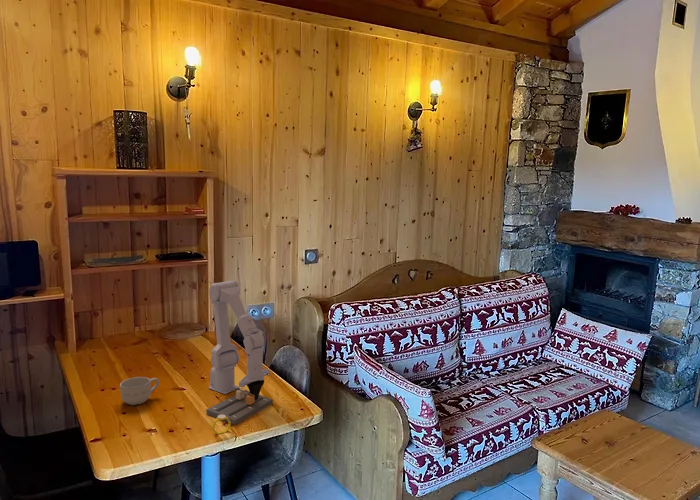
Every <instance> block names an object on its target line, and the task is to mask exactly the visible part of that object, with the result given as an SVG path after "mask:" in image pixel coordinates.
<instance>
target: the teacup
mask: <svg viewBox="0 0 700 500" xmlns="http://www.w3.org/2000/svg"><path fill="white" fill-rule="evenodd" d="M154 381H155V382H156V383H155V385H154V386H152V383H153V382H154ZM159 385H160V381H159V379H158V378H157V377H152V378H149V377H146V376H135V377H130V378H126V379H124V380H122V381H121V382H120V384H119V388H120V390H119V391H120V398H121V400H122V402H123V403H125V404H127V405H129V404H130V406H135V405H136V406H138V405H141V404H144V403H145V402H147V400H148V399H149V398H150V397H151V394H152V393H153V392H154V391H155V390H156V389H157V387H159ZM151 387H152V388H151ZM137 404H138V405H137Z"/></svg>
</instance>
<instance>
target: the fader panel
mask: <svg viewBox="0 0 700 500" xmlns="http://www.w3.org/2000/svg"><path fill="white" fill-rule="evenodd" d="M248 394H250V391H249V390H246V389H244V398H242V399H240V400H239V399H236V394H235V395H233V396H231V397H229V398H226V399H224V400H222V401H221V402H219V403H216V404H214V405H212V406H210V407H209V408H206V410H205V411H206V415H208V416H210V417H212V418H215V419H216V418H217V416H218V415H225V416H226V417H227V418H228V419H229V420H230V422H231V425H233V426H235V425H238V424H239V423H241V422H243V421H245V420H246V419H248V418H250V417H252V416H254V415H256V414H257V413H259V412H261V411H262V410H264V409H266V408H267V407H270V406H271V405H273V404H274V403H273V402H274V400H273V399H272V398H269V397H267V396H264V395H261V394H259V397H258V399H257V400H254V403H253V404H251V405H248V404H246V396H247V395H248ZM228 419H224V420H222V421H223V422H225V423H228Z"/></svg>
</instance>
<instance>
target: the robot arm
mask: <svg viewBox="0 0 700 500" xmlns="http://www.w3.org/2000/svg"><path fill="white" fill-rule="evenodd" d="M240 294H241V288H240V285H239V283H238V282H237V281H236V280H234V279H232V280H227V281H222V282H213V283H212V284H211V285H210V287H209V298H210V303H211V304H212V307H213V317H214V324H215V333H216V345H215V346H214V347H213V349H211V352H210V353H211V357H210V363H211V364H210V365H211V366H212V367H211V369H210V373H209V376H210V378H209V380H210V382H209V383H210V385H209V387H208V389H209V390H213V391H215V392H218V393H220V394H224V395H226V394H227V395H228V393H231V392H234V391H236V390H238V389H240V388H241V389H242V388H245V387H247V388H248V391H250V394H253V395H254V400H257V399H258V397H259V395H260V392H261V389H262V388H263V386H264V383H265V377H266V376H270V375H271V370H270V369H269V368H265V369H263V367H264V366H263V365H264V364H263V362H264V361H263V359H264V357H263V355H264V353H263V351H264V347H265V345H266V344H267V338H266V335H265V333H264V332H263V331H262V330H261V329H260V328H258V327H257V325H256V323H255V321H254V319H253V317H252V316H251V315H249V314H247V311H246V309H245V307H244V304H243V302H242V300H241V297H240ZM228 305H229V306H230V309H232V311H233V313H234V314H235V316H236V317H237V323H236V324H237V326H238V328H239V331H240V332H241V334H242V336H243V338H244V339H243V340H242V341H243V346H244V349H245V350H244V351H245V353H246V375H245V376H243V378H241V380H239V381H238V385H237V384H235V381H236V380H235V368H236V367H237V364H238V363H239V361H240V355H239V352H238V349H237V348H238V347H237V346H236V345H235V344H233V343H231V333H230V331H231V330H230V325H229V323H230V322H229V314H228V313H229V312H228Z"/></svg>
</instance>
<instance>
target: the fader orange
mask: <svg viewBox="0 0 700 500" xmlns="http://www.w3.org/2000/svg"><path fill="white" fill-rule="evenodd" d="M253 403H254V395H253V394H248V395H247V396H246V404H248V405H251V404H253Z"/></svg>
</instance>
